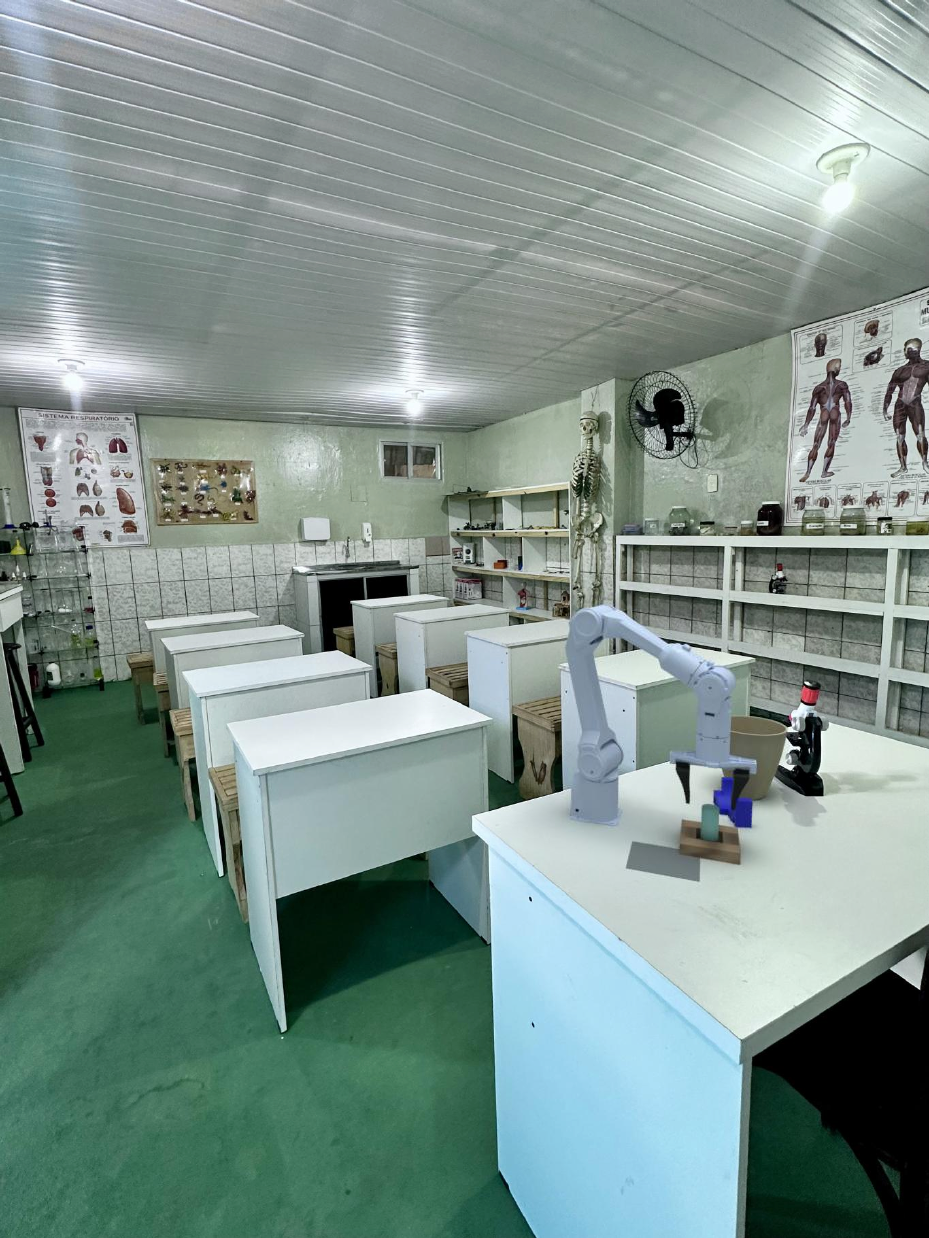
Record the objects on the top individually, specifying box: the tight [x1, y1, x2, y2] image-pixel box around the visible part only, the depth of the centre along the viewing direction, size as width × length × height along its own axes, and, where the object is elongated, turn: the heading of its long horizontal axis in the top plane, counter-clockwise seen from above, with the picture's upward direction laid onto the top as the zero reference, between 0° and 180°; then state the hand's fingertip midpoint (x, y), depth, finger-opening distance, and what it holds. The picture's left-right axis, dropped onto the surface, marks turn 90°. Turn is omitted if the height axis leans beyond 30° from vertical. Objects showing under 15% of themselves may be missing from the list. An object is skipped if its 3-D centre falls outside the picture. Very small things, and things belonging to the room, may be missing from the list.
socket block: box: [679, 819, 742, 866], centre depth 110 cm, size 10×10×2 cm
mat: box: [625, 840, 701, 883], centre depth 106 cm, size 12×10×1 cm
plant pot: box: [721, 715, 789, 800], centre depth 133 cm, size 15×15×16 cm
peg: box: [700, 803, 720, 843], centre depth 110 cm, size 3×3×8 cm
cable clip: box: [712, 776, 754, 829], centre depth 123 cm, size 12×4×6 cm, turn 170°
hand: (710, 804), depth 109 cm, fingers open, 7 cm apart
